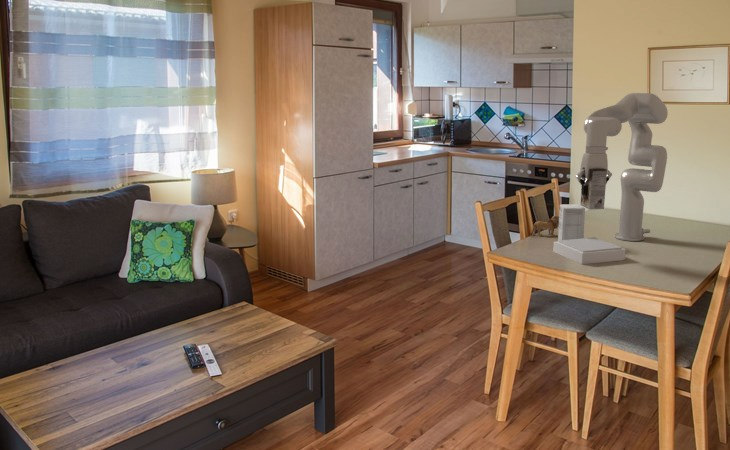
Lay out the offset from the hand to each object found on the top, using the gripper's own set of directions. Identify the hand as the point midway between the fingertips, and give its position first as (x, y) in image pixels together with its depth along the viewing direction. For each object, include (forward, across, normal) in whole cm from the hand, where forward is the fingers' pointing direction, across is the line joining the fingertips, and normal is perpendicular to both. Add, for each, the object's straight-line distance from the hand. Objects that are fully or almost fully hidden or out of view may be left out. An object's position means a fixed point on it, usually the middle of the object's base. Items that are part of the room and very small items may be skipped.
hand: (592, 194), depth 266 cm
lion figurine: (+26, -3, -38) cm, 46 cm away
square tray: (+26, 0, 0) cm, 26 cm away
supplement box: (+26, -5, -20) cm, 33 cm away
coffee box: (+6, 0, 0) cm, 6 cm away
